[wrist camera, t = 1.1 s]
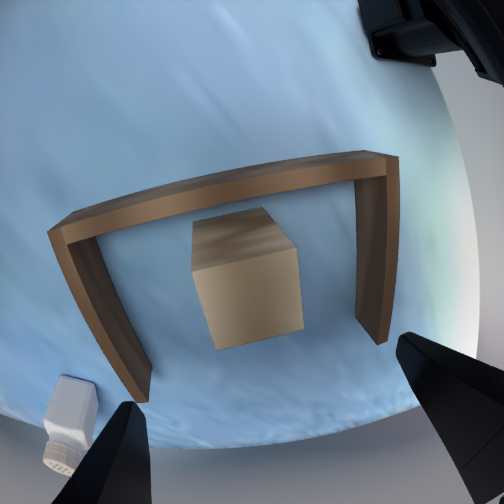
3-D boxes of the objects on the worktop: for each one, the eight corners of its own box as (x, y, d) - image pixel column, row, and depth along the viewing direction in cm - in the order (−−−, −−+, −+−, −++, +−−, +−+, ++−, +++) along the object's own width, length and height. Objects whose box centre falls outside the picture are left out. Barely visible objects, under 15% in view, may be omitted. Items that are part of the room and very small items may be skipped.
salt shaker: (59, 371, 21) (31, 450, 12) (96, 380, 22) (77, 466, 13) (65, 395, 22) (45, 469, 14) (100, 404, 23) (86, 482, 15)
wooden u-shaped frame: (363, 150, 18) (398, 156, 14) (364, 313, 24) (387, 341, 20) (73, 211, 16) (46, 232, 12) (141, 367, 22) (136, 403, 18)
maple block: (261, 206, 18) (296, 247, 12) (271, 268, 20) (303, 328, 14) (193, 221, 18) (191, 271, 12) (208, 282, 20) (216, 350, 14)
